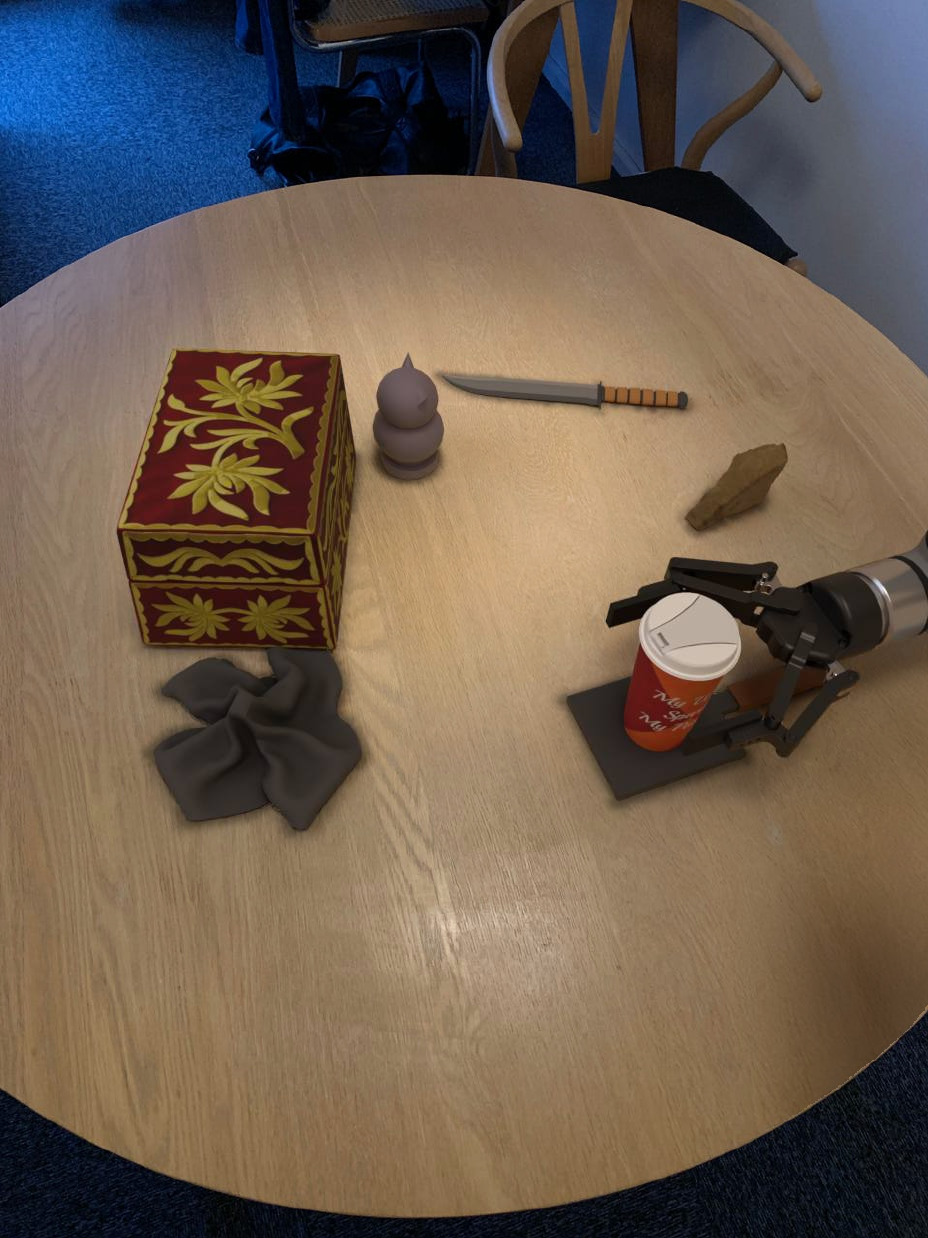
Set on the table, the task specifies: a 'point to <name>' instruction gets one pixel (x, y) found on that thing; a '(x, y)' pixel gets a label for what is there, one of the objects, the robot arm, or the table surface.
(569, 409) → the table surface
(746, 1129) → the table surface
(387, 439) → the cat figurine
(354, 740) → the cloth
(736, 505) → the rock
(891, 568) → the robot arm
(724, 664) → the coffee cup
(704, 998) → the table surface
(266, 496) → the decorative box
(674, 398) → the knife
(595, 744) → the spatula
